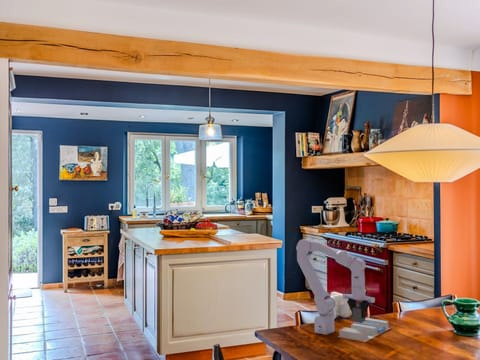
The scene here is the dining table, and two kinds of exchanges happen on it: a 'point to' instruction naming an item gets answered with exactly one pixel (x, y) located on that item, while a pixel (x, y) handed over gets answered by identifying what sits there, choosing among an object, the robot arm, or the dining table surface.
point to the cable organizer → (340, 305)
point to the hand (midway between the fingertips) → (358, 316)
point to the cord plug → (358, 314)
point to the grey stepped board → (364, 330)
